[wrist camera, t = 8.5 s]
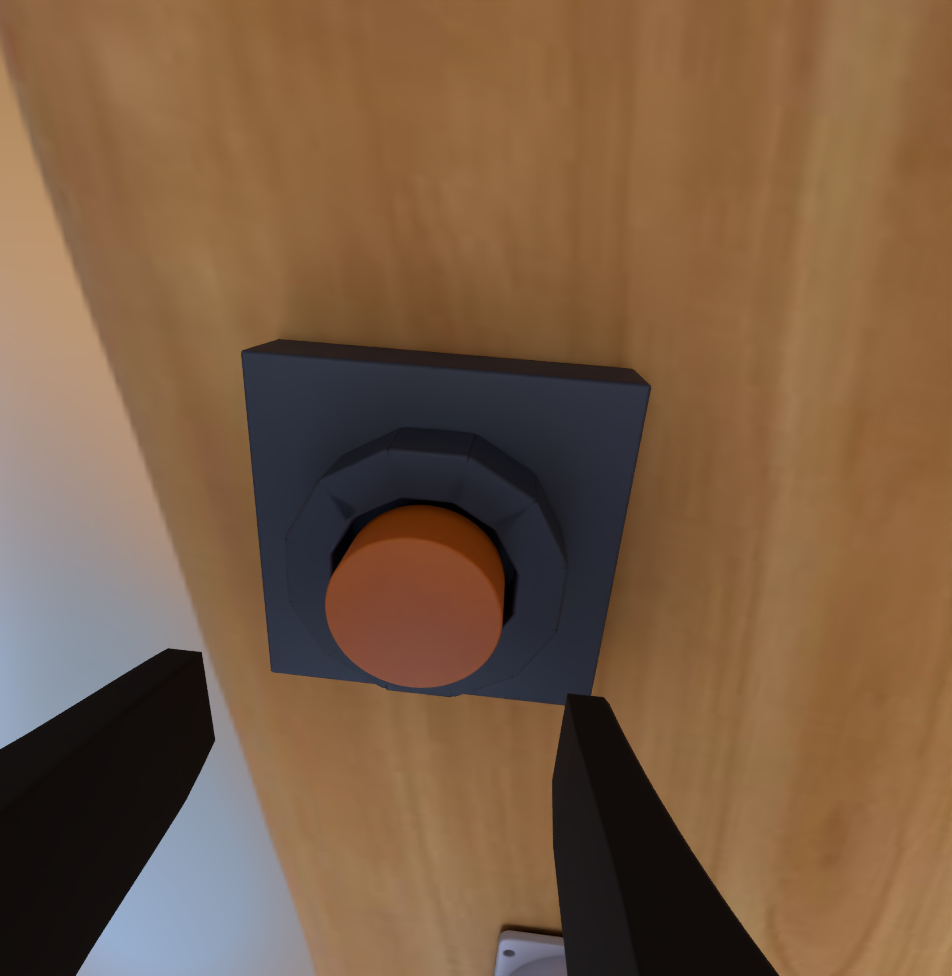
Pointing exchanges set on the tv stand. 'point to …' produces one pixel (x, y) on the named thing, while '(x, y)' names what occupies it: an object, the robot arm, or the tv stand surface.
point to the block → (445, 493)
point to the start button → (418, 597)
